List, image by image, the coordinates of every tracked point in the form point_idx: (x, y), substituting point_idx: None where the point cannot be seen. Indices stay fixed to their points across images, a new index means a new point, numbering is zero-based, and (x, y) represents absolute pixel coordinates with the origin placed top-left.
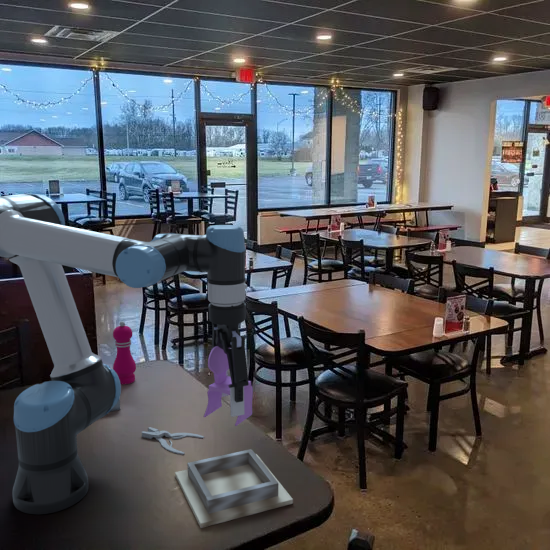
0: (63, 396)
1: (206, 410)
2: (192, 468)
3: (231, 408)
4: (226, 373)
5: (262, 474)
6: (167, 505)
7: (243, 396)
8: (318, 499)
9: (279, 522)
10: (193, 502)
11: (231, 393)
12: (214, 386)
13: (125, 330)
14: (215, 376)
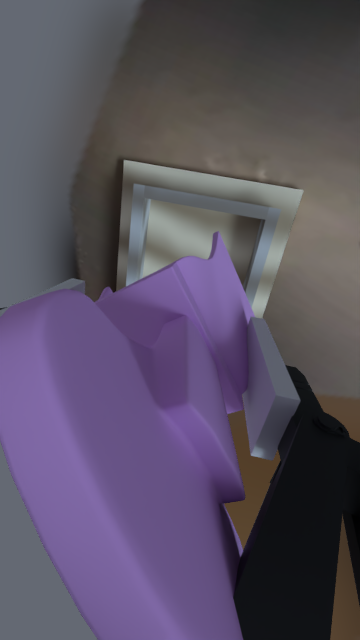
0: None
1: (213, 245)
2: (253, 209)
3: (56, 287)
4: (249, 420)
5: None
6: (219, 131)
7: None
8: None
9: (88, 277)
10: (185, 176)
11: (2, 309)
12: (144, 289)
13: None
14: (173, 335)
